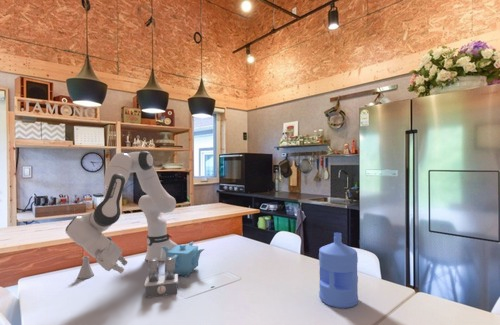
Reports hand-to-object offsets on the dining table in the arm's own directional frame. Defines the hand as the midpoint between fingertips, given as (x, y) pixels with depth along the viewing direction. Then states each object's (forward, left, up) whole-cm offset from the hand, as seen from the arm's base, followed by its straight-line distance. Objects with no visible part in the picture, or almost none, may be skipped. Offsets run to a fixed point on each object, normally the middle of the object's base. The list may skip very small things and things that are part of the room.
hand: (124, 267), depth 124 cm
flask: (+5, -37, -13) cm, 39 cm away
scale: (-13, +8, -12) cm, 20 cm away
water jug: (-60, +70, -13) cm, 93 cm away
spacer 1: (-10, +6, -7) cm, 14 cm away
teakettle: (-33, -5, -13) cm, 36 cm away
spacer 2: (-16, +10, -7) cm, 20 cm away
